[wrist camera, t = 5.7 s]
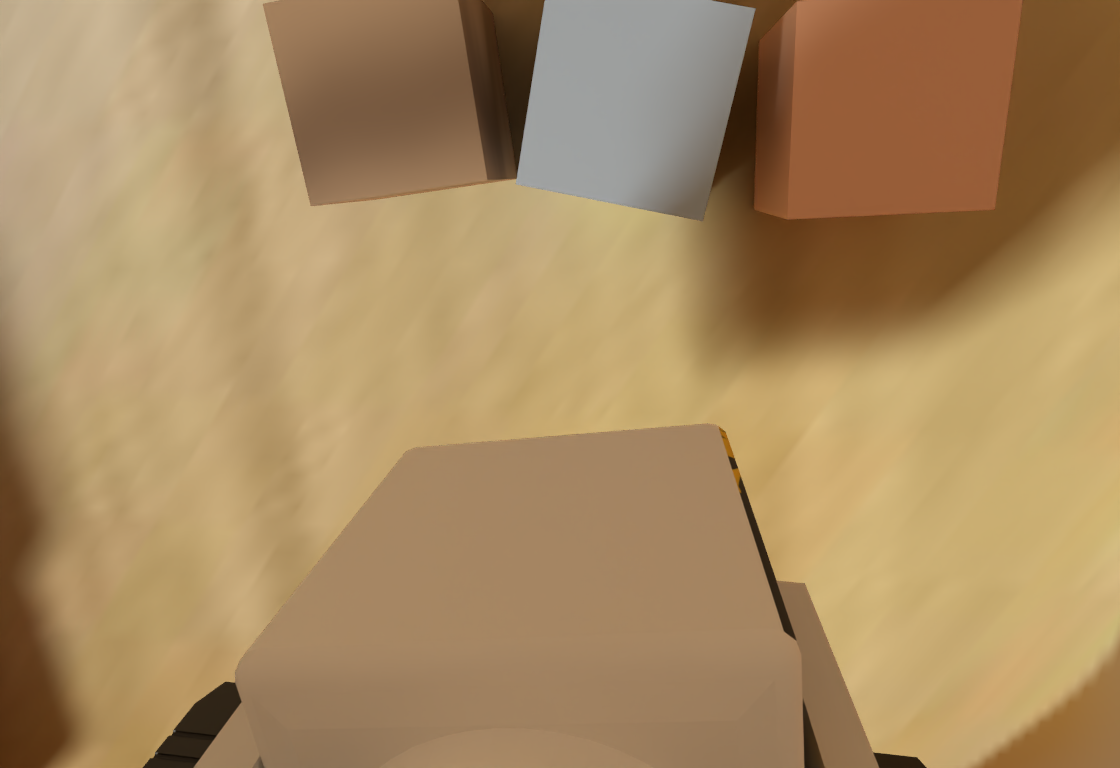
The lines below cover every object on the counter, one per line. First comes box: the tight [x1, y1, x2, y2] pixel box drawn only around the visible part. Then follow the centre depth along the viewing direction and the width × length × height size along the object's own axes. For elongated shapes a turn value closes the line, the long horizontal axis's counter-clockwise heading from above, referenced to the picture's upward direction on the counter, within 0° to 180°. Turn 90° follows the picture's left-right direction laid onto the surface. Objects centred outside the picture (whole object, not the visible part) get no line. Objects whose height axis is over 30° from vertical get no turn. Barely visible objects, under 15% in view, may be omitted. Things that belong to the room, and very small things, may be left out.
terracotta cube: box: [754, 0, 1023, 220], centre depth 18 cm, size 5×5×5 cm
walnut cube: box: [263, 0, 517, 206], centre depth 20 cm, size 5×5×5 cm
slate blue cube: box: [516, 0, 756, 221], centre depth 19 cm, size 5×5×5 cm
